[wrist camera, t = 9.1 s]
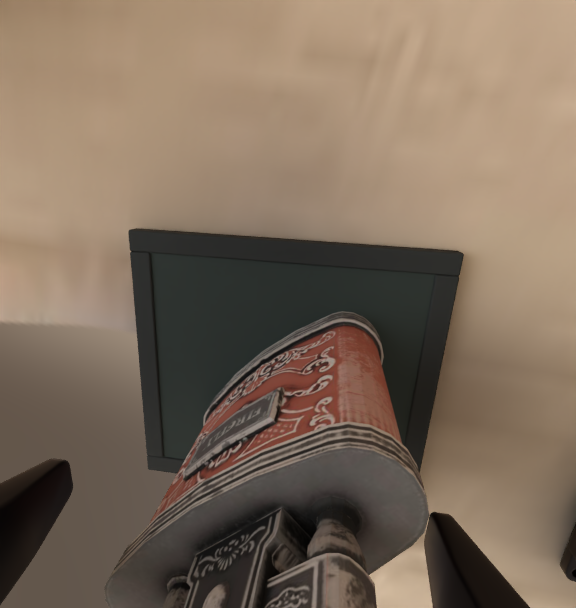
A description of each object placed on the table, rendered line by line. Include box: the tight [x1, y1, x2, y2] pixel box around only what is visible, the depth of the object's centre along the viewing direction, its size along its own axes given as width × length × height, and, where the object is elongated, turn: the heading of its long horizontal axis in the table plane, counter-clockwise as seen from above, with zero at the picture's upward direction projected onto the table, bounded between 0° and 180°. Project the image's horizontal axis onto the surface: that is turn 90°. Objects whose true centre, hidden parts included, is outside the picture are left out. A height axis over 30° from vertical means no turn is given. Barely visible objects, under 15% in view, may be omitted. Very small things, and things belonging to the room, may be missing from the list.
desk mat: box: [129, 229, 464, 473], centre depth 15 cm, size 12×11×1 cm
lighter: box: [105, 311, 429, 608], centre depth 10 cm, size 8×3×10 cm, turn 130°
